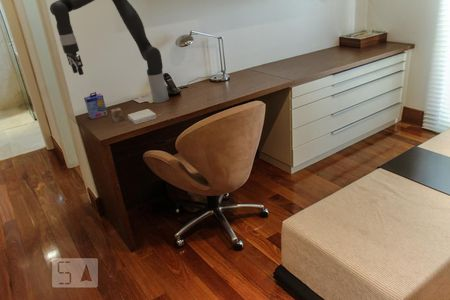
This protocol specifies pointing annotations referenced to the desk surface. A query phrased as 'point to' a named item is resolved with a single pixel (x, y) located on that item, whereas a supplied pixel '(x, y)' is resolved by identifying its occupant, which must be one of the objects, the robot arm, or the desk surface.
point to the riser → (142, 116)
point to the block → (117, 115)
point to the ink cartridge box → (95, 105)
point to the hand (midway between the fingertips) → (78, 73)
